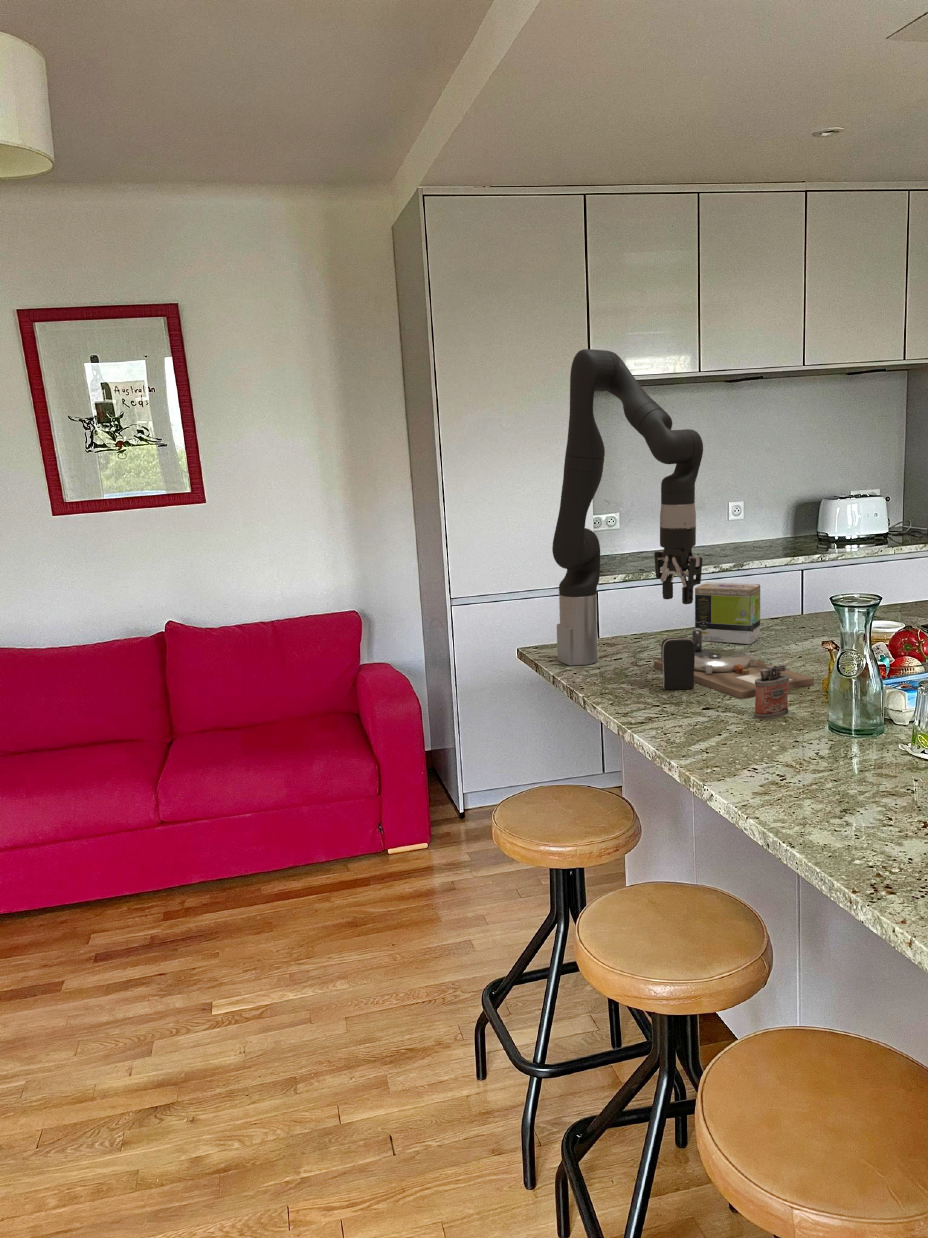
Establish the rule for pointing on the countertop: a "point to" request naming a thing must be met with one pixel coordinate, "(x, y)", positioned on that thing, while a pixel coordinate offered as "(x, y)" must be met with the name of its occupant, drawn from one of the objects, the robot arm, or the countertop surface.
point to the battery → (678, 663)
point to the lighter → (771, 693)
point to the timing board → (742, 680)
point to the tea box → (728, 612)
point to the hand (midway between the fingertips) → (677, 601)
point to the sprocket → (719, 658)
